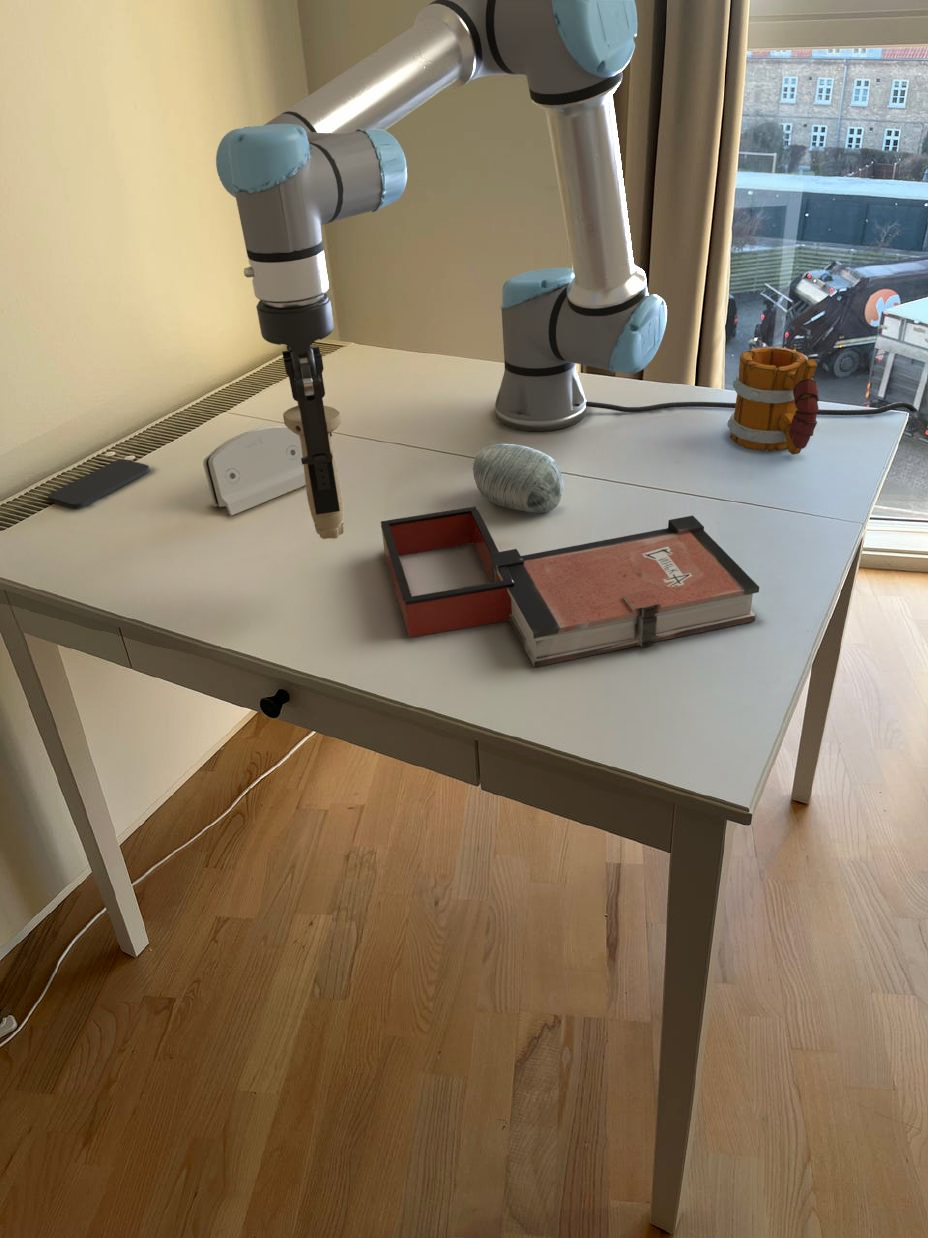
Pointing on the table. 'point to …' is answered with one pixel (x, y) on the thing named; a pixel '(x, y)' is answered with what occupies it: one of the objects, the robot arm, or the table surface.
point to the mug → (774, 400)
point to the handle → (324, 523)
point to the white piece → (254, 468)
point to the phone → (98, 483)
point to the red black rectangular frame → (447, 605)
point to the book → (623, 592)
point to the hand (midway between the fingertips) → (325, 501)
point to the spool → (518, 477)
